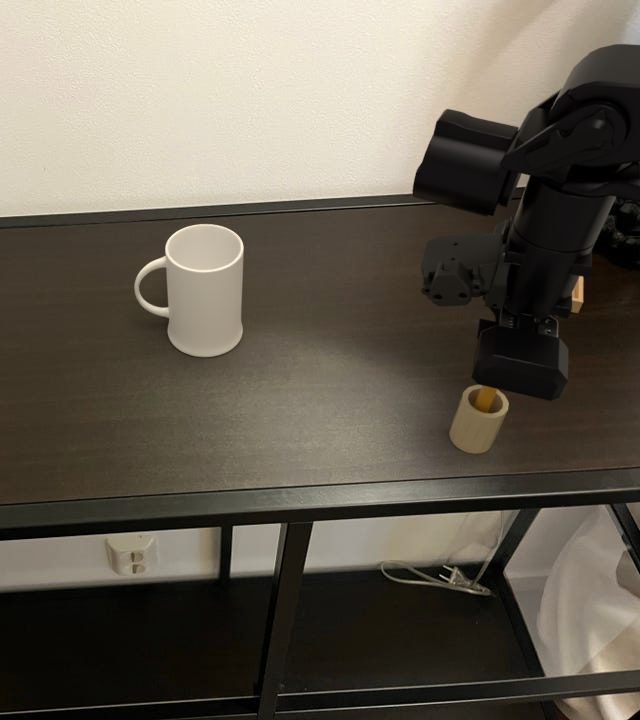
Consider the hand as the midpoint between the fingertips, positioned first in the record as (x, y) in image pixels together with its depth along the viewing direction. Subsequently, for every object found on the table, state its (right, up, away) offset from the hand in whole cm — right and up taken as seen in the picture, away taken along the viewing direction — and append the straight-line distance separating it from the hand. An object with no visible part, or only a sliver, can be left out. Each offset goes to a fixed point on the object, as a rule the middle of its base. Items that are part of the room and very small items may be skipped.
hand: (496, 372), depth 66 cm
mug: (-26, +4, +19) cm, 33 cm away
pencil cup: (+1, -6, +7) cm, 9 cm away
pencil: (0, -4, +4) cm, 6 cm away
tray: (+15, +11, +23) cm, 29 cm away
